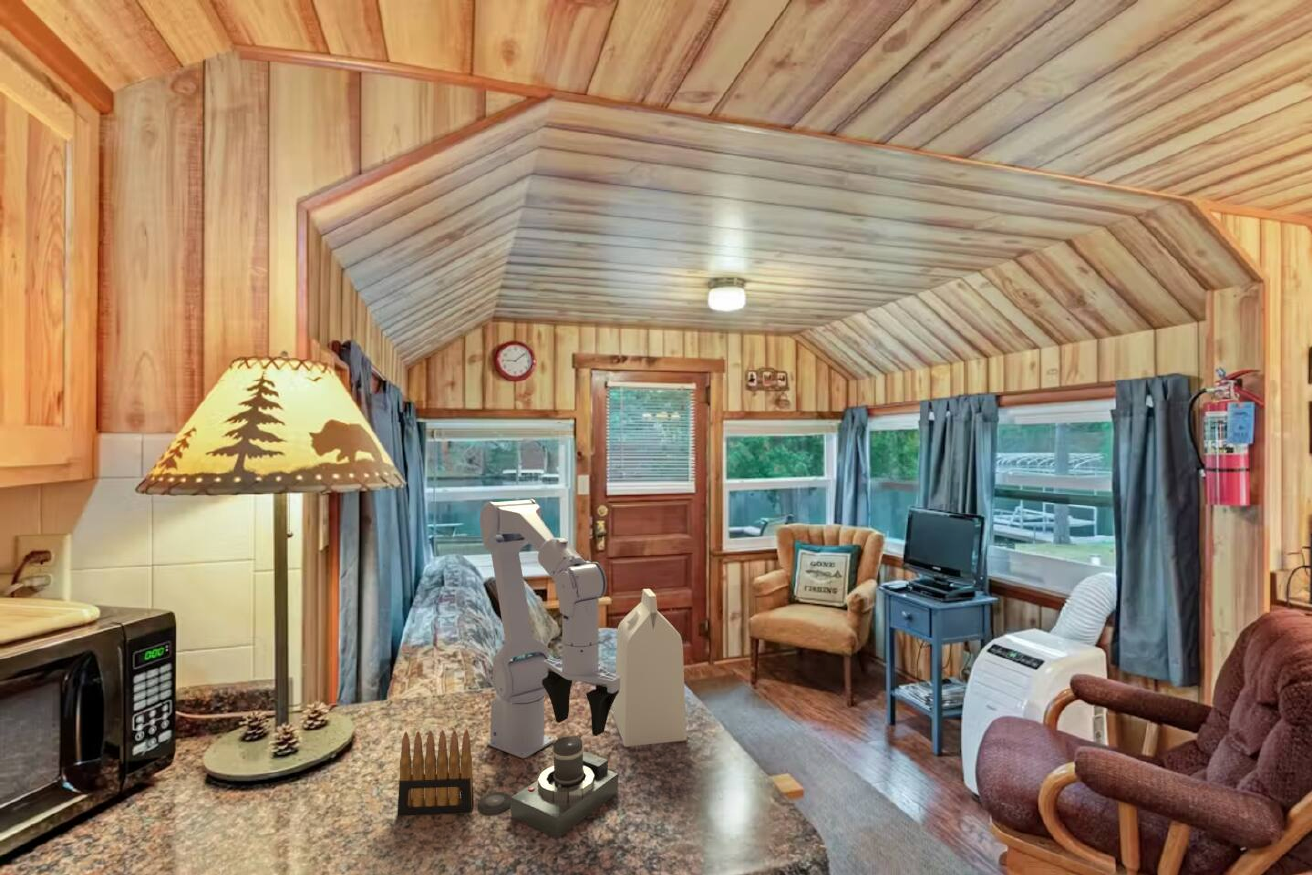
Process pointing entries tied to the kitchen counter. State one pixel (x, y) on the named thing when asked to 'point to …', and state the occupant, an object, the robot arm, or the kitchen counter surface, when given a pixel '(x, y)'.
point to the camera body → (564, 798)
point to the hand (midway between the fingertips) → (579, 726)
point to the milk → (649, 677)
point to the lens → (568, 762)
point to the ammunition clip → (435, 777)
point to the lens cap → (494, 803)
